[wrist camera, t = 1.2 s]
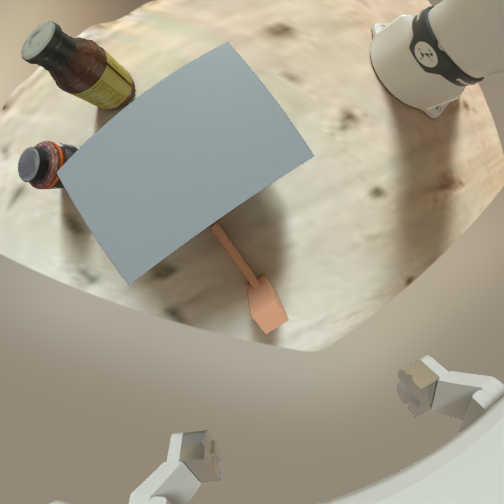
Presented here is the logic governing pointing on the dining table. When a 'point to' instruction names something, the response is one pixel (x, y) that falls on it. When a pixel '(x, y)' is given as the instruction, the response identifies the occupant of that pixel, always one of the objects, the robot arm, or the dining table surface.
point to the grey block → (180, 160)
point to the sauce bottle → (79, 66)
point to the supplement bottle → (44, 164)
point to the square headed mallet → (256, 289)
